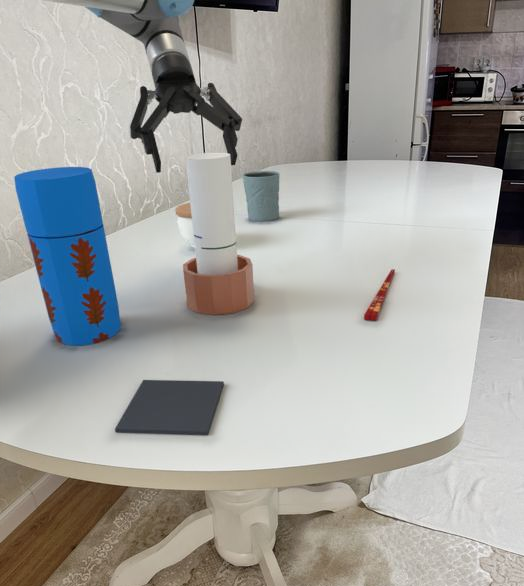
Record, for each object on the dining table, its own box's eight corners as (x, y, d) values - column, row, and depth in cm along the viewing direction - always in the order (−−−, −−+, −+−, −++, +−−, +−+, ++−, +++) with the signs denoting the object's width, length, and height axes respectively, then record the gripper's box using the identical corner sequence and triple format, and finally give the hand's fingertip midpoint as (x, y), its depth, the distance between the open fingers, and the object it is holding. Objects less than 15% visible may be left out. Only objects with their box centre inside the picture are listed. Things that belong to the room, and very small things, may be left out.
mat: (115, 432, 61) (114, 428, 61) (143, 382, 71) (143, 379, 71) (207, 435, 60) (207, 431, 60) (224, 384, 70) (223, 381, 69)
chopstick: (396, 272, 104) (397, 267, 104) (375, 321, 85) (376, 315, 84) (386, 271, 105) (386, 266, 105) (363, 319, 85) (364, 314, 85)
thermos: (70, 353, 79) (28, 183, 68) (43, 331, 87) (1, 174, 75) (134, 330, 86) (106, 171, 74) (104, 312, 93) (74, 164, 81)
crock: (174, 301, 96) (170, 264, 93) (228, 284, 103) (225, 249, 99) (211, 320, 88) (207, 281, 84) (267, 301, 94) (265, 263, 91)
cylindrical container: (222, 290, 100) (210, 151, 88) (248, 300, 95) (239, 154, 83) (192, 302, 95) (176, 157, 84) (218, 312, 91) (204, 160, 79)
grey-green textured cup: (274, 223, 142) (272, 177, 137) (239, 221, 146) (236, 176, 140) (285, 214, 151) (284, 170, 145) (252, 212, 154) (249, 170, 148)
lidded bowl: (203, 234, 135) (199, 191, 130) (242, 241, 128) (239, 195, 123) (168, 247, 126) (162, 201, 121) (208, 255, 119) (204, 206, 114)
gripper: (232, 81, 105) (260, 170, 99) (104, 88, 98) (126, 184, 92) (238, 49, 98) (268, 143, 92) (100, 54, 91) (124, 156, 85)
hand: (197, 164), depth 92 cm, fingers open, 13 cm apart
